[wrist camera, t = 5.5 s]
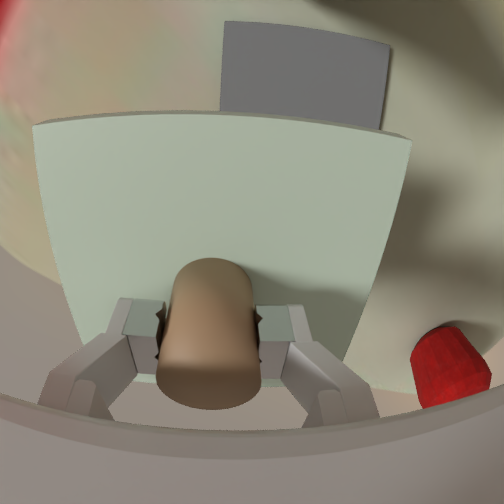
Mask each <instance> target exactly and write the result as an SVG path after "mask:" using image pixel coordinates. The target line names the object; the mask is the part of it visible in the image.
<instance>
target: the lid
mask: <svg viewBox="0 0 504 504" xmlns="http://www.w3.org/2000/svg"><path fill="white" fill-rule="evenodd" d="M32 128H33V140H34V150H35V159H36V167H37V174H38V181H39V187H40V193H41V199H42V205H43V210H44V215H45V220H46V224H47V229H48V233H49V238H50V242H51V246H52V250H53V254H54V258H55V262H56V265H57V269H58V272H59V276H60V279H61V283H62V286H63V289H64V292H65V295H66V298H67V302H68V305H69V307H70V310H71V313H72V316H73V319H74V322H75V325H76V327H77V330H78V333H79V335H80V338H81V341H82V343H83V346H84V345H85V344H87V343H88V342H89V341H91V340H92V339H93V338H95V337H96V336H97V335H99V334H100V333H105V332H106V329H107V327H108V324H109V321H110V318H111V316H112V313H113V310H114V308H115V305H116V303H117V300H118V299H119V298H120V297H123V298H133V299H135V298H136V299H148V300H159V301H165V302H166V308H167V312H166V317H165V318H166V322H165V327H164V332H163V338H162V343H161V348H160V353H159V359H158V365H157V370H156V375H153V374H139V373H137V374H138V375H137V376H136V377H135V378H134V379H133V381H138V382H149V383H157V385H158V387H159V388H160V390H161V391H162V392H163V393H164V394H165V395H166V396H168V397H169V398H170V399H172V400H174V401H176V402H178V403H180V404H183V405H185V406H189V407H192V408H198V409H206V410H218V409H219V410H220V409H228V408H232V407H236V406H239V405H241V404H244V403H246V402H248V401H249V400H250V399H252V398H253V397H254V396H255V395H256V394H257V393H258V392H259V390H260V388H261V387H283V386H285V385H284V384H283V383H282V381H281V379H261V371H260V361H259V354H258V347H257V337H256V335H257V332H256V326H255V317H254V307H255V304H263V305H287V304H302V305H303V306H304V310H305V313H306V317H307V321H308V324H309V328H310V332H311V335H312V339H313V341H318V342H319V343H320V344H321V345H323V346H324V347H325V348H326V349H327V350H328V351H330V352H331V353H332V354H333V355H334V356H335V357H337V358H338V359H339V360H340V361H341V362H342V361H343V359H344V357H345V354H346V352H347V350H348V347H349V345H350V342H351V340H352V338H353V335H354V333H355V330H356V328H357V325H358V323H359V320H360V317H361V315H362V312H363V310H364V307H365V304H366V302H367V299H368V296H369V293H370V291H371V288H372V285H373V282H374V279H375V276H376V273H377V270H378V267H379V264H380V261H381V258H382V255H383V252H384V249H385V246H386V242H387V239H388V236H389V233H390V229H391V226H392V222H393V219H394V215H395V212H396V208H397V204H398V201H399V197H400V193H401V189H402V185H403V181H404V177H405V173H406V168H407V164H408V159H409V155H410V150H411V145H412V140H410V139H408V138H406V137H404V136H402V135H399V134H396V133H391V132H387V131H382V130H377V129H372V128H367V127H361V126H356V125H350V124H344V123H337V122H331V121H324V120H317V119H309V118H301V117H292V116H283V115H272V114H260V113H246V112H229V111H197V110H166V111H135V112H117V113H104V114H93V115H83V116H74V117H65V118H58V119H51V120H46V121H43V122H41V123H38V124H35V125H33V126H32Z"/></svg>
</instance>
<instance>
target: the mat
mask: <svg viewBox="0 0 504 504" xmlns="http://www.w3.org/2000/svg"><path fill="white" fill-rule="evenodd" d="M389 51H390V45H387V44H383V43H379V42H376V41H372V40H368V39H363V38H359V37H355V36H350V35H345V34H340V33H335V32H330V31H324V30H318V29H312V28H305V27H298V26H290V25H281V24H270V23H257V22H239V21H225V23H224V38H223V55H222V73H221V93H220V111H229V112H246V113H260V114H272V115H283V116H292V117H301V118H309V119H317V120H324V121H331V122H337V123H344V124H350V125H356V126H361V127H367V128H372V129H377V130H379V125H380V119H381V113H382V106H383V99H384V92H385V85H386V77H387V69H388V61H389Z"/></svg>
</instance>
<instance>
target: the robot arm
mask: <svg viewBox="0 0 504 504" xmlns="http://www.w3.org/2000/svg"><path fill="white" fill-rule="evenodd" d="M166 312H167V308H166V302H165V301H159V300H148V299H136V298H135V299H133V298H123V297H120V298H119V299H118V300H117V303H116V305H115V308H114V310H113V313H112V316H111V318H110V321H109V324H108V327H107V329H106V332H105V333H100V334H99V335H97V336H96V337H95V338H93V339H92V340H91V341H89V342H88V343H87V344H85V345H84V346H83V347H81V348H80V349H79V350H77V352H75V353H74V354H72V355H71V356H70V357H68V358H67V359H66V360H64V361H63V362H62V363H61V364H59V365H58V366H57V367H55V368H54V369H53V370H51V371H50V372H49V375H48V377H47V380H46V382H45V385H44V387H43V390H42V393H41V395H40V398H39V401H38V404H35V403H31V402H27V401H24V400H21V399H18V398H14V397H11V396H8V395H5V394H2V393H0V504H504V384H502V385H500V386H497V387H494V388H491V389H489V390H486V391H483V392H480V393H477V394H474V395H471V396H468V397H464V398H461V399H458V400H454V401H451V402H447V403H444V404H440V405H436V406H432V407H429V408H425V409H420V410H416V411H412V412H408V413H403V414H398V415H394V416H388V417H383V418H380V416H379V413H378V410H377V407H376V404H375V401H374V398H373V395H372V392H371V389H370V386H369V384H367V383H366V382H365V381H364V380H363V379H361V378H360V377H359V376H358V375H357V374H356V373H354V372H353V371H352V370H351V369H350V368H348V367H347V366H346V365H345V364H344V363H342V362H341V361H340V360H339V359H338V358H337V357H335V356H334V355H333V354H332V353H331V352H330V351H328V350H327V349H326V348H325V347H324V346H323V345H321V344H320V343H319V342H318V341H313V339H312V335H311V332H310V328H309V324H308V321H307V317H306V313H305V310H304V306H303V305H302V304H287V305H263V304H255V307H254V317H255V326H256V332H257V335H256V337H257V347H258V354H259V361H260V371H261V379H281V381H282V383H283V384H284V385H285V386H286V387H287V389H288V390H289V391H290V392H291V393H292V395H293V396H294V397H295V398H296V399H297V401H298V402H299V403H300V404H301V406H302V407H303V408H304V409H305V410H306V411H307V412H308V416H307V418H306V420H305V422H304V424H303V426H302V428H298V429H297V428H296V429H280V430H251V431H250V430H248V431H228V430H226V431H224V430H223V431H222V430H196V429H180V428H168V427H157V426H148V425H139V424H131V423H124V422H118V421H115V420H114V419H113V417H112V415H111V413H110V411H109V410H108V407H109V406H110V405H111V404H112V403H113V402H114V401H115V399H116V398H117V397H118V396H119V395H120V394H121V393H122V392H123V391H124V389H125V388H126V387H127V386H128V385H129V384H130V383H131V382H132V381H133V379H134V378H135V377H136V376H137V375H138V374H137V373H139V374H153V375H156V370H157V365H158V359H159V353H160V348H161V343H162V338H163V332H164V327H165V322H166V318H165V317H166Z"/></svg>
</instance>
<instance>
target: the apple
mask: <svg viewBox="0 0 504 504" xmlns="http://www.w3.org/2000/svg"><path fill="white" fill-rule="evenodd" d="M410 362H411V367H412V371H413V376H414V380H415V385H416V389H417V394H418V398H419V402H420V404H421V406H422V408H423V409H425V408H429V407H432V406H436V405H440V404H444V403H447V402H451V401H454V400H458V399H461V398H464V397H468V396H471V395H474V394H477V393H480V392H483V391H486V390H489V387H490V382H491V376H492V373H491V371H490V369H489V367H488V365H487V363H486V362H485V360H484V359H483V358H482V356H481V355H480V354H479V353H478V352H477V351H476V349H475V348H474V347H473V346H472V345H471V343H470V342H469V341H468V339H467V338H466V337H465V336H464V334H463V333H462V332H461V331H460V329H458V328H457V327H440V328H436V329H434V330H431V331H430V332H429V333H427V334H426V335H424V336H423V337H422V338H421V339H420V340H419V342H418V343H417V345H416V346H415V348H414V350H413V351H412V354H411V357H410Z"/></svg>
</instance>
